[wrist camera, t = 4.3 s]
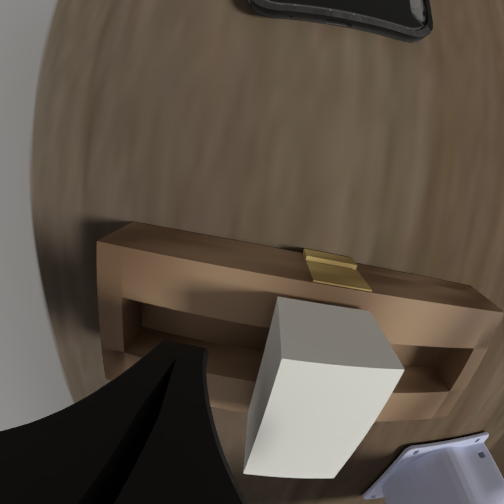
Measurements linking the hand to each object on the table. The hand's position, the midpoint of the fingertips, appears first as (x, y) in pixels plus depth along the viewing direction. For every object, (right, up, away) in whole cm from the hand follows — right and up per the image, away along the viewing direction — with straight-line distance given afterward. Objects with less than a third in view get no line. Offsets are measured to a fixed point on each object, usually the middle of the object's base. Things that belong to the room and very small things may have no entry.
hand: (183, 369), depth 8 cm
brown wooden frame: (+5, 0, +4) cm, 6 cm away
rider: (+4, 0, +3) cm, 5 cm away
